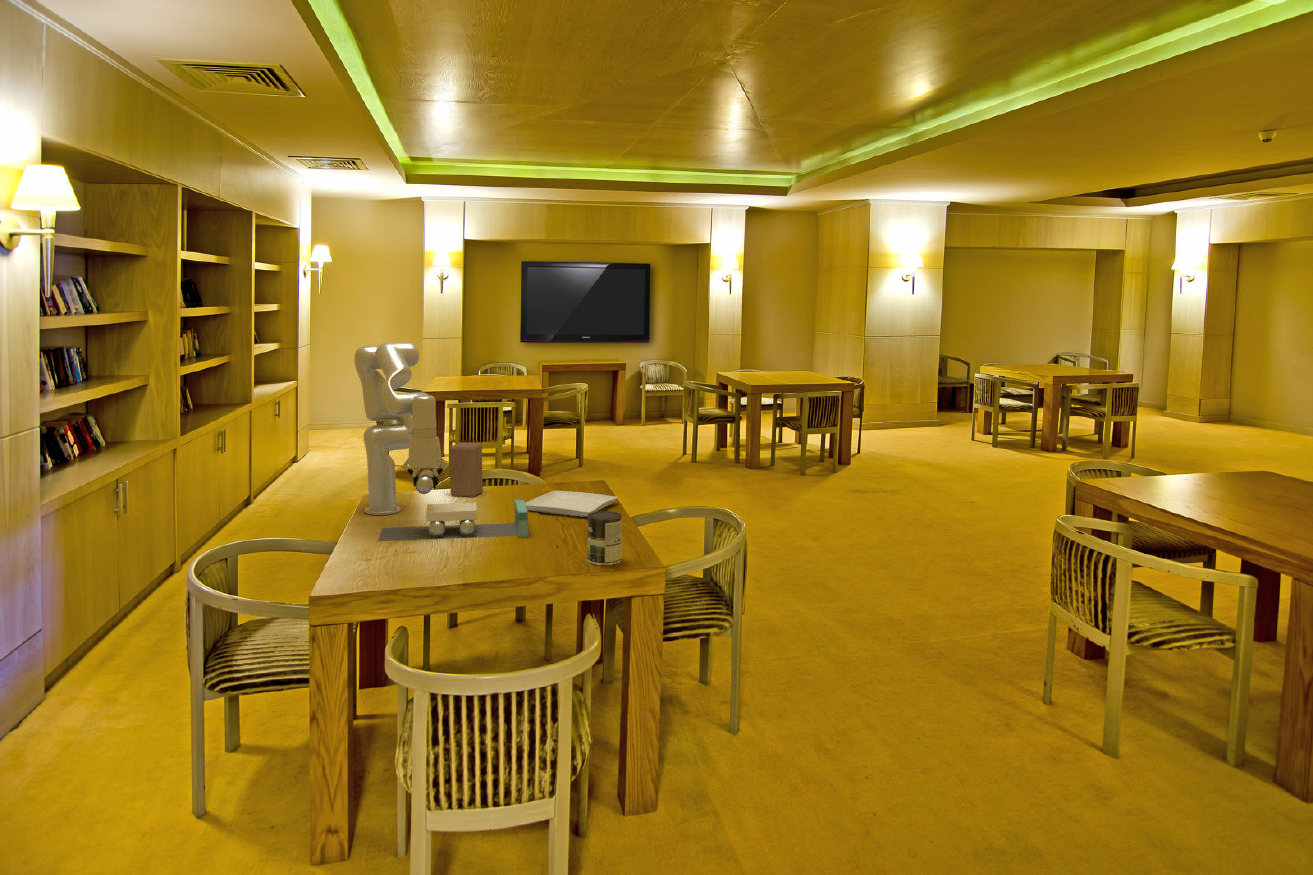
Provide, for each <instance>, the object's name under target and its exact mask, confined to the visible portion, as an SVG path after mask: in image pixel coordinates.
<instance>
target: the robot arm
mask: <svg viewBox="0 0 1313 875" xmlns="http://www.w3.org/2000/svg"><path fill="white" fill-rule="evenodd" d="M419 361H420V353H419V350H418V347H417V346H416V345H415V344H414V343H413V342H411V341H396V342H395V341H393V342H392V341H389V342H382V343H381V344H377V345H376V344H373V345H372V344H371V345H364V346H360V347H359V348H357V349H356V350H355V353H354V366H355V370H356V373H357V375H358V378H359V380H360V382H361V388H362V398H363V406H364V413H365V417H366V418H367V420H369V421H371V422H387V421H395V422H396V423H386V424H377V425H376V424H375V425H372V426H368V428H366V429H365V430H364V432H363V442H364V443H363V444H364V448H365V452H366V461H367V462H366V463H367V485H368V486H367V488H368V493H367V494H368V506H367V507H365V508H364V513H366V514H367V515H373V516H385V515H393V514H397V513H400V512H401V510H402V508H401V507H402V506H400V505H397V491H396V490H397V488H396V464H395V461H394V459H393V457H392V456H391V455H390V454H389V453H388V452H391V451H399V450H401V451H402V450H407V449H408V458H407V459H406V461H405V462H404V463H403V465H401V468H402V469H403V470H404V471H406V472H407V473H408V474H409V475H410V476H412V479H413V487H416V483H417V481H418V478H419V475H418V472H419V471H418V470H420V469H423V470H431V469H432V472H433V473H434V476H433V486H432V488H433V489H434V490H435V489H437V487H438V486H439V475H441V473H443V472H444V471H445V470H446V469H447V468H448V467H449V464H448V463H447V461H446V460H445V459H444V458H443V457H442V452H441V443H440V438H439V436H437V416H436V415H437V414H436V413H437V410H436V408H437V407H436V406H437V405H436V404H437V403H436V398H435V396H433V395H431V394H428V393H427V392H423V391H422V392H421V391H420V392H402V393H400V392H399V393H396V392H395V390H397V389H400V388H401V387H403V386H405V385H407V383H409V382H410V381H411V380H412V376H413V371H412V369H411V367H415V366H416V365H417V364H418V363H419ZM379 370H382V372H383V374H381V372H379ZM383 375H384V376H383ZM441 465H442V466H441Z"/></svg>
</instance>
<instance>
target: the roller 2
mask: <svg viewBox="0 0 1313 875" xmlns="http://www.w3.org/2000/svg"><path fill="white" fill-rule="evenodd" d="M475 524H476V520H459V525H460V533H461V535H462V536H464V537H471V536H472V535H473V534H474V533H475Z"/></svg>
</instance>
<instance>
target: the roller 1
mask: <svg viewBox="0 0 1313 875" xmlns="http://www.w3.org/2000/svg"><path fill="white" fill-rule="evenodd" d="M428 526H429V534H430V536H431V537H433V538H440V537H442V536H443V535H444V532H445V526H446V521H429V525H428Z"/></svg>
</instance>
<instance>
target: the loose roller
mask: <svg viewBox="0 0 1313 875" xmlns="http://www.w3.org/2000/svg"><path fill="white" fill-rule="evenodd" d="M433 476H434V472H433V470H431V469H423V470H422V471H421V472H420V474H419V475H418V481H417V483H416V486H415V490H416V491H417V492H418V493H419V494H421V495H427V494H429V493H430V492H431V491H432V488H433Z"/></svg>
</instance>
